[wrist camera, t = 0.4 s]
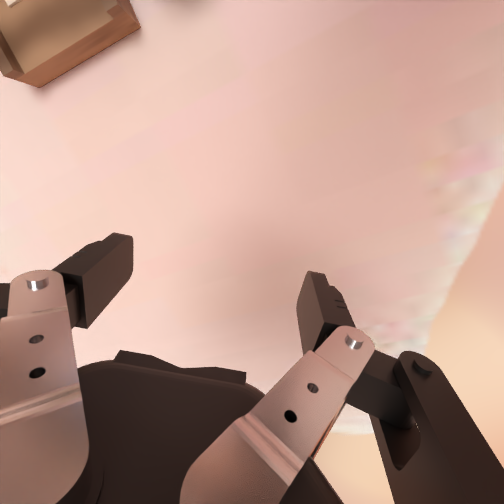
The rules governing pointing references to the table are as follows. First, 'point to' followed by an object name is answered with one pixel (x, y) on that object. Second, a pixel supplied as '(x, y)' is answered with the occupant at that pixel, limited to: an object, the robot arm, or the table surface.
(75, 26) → the stand
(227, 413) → the robot arm
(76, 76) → the table surface
